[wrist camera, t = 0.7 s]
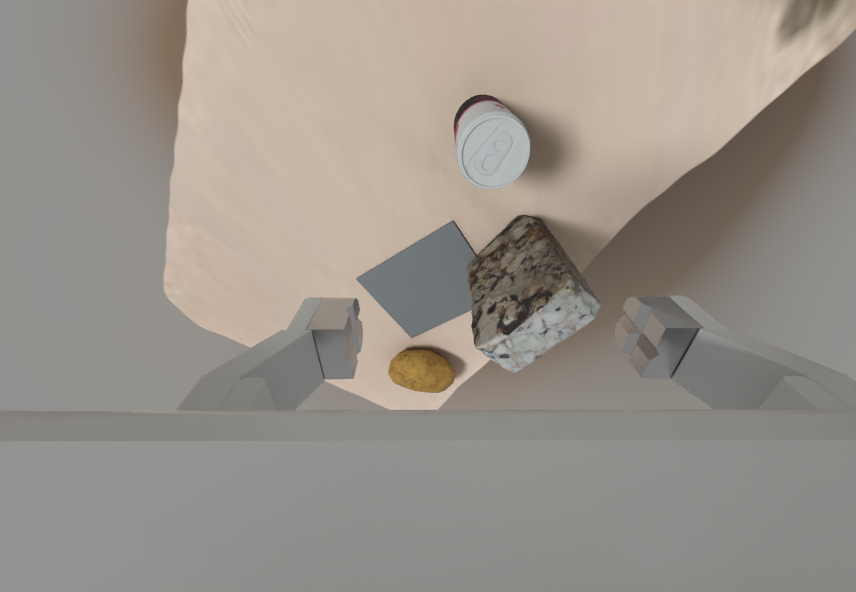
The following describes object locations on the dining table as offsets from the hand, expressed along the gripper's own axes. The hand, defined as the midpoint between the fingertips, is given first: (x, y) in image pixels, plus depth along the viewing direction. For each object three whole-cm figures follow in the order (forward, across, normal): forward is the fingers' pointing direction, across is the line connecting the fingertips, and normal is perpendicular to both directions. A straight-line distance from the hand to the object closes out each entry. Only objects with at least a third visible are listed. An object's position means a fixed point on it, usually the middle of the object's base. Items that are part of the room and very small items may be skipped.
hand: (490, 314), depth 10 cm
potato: (+41, +3, +41) cm, 58 cm away
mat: (+40, +2, +23) cm, 46 cm away
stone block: (+39, -10, +15) cm, 43 cm away
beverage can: (+38, -4, -2) cm, 38 cm away
